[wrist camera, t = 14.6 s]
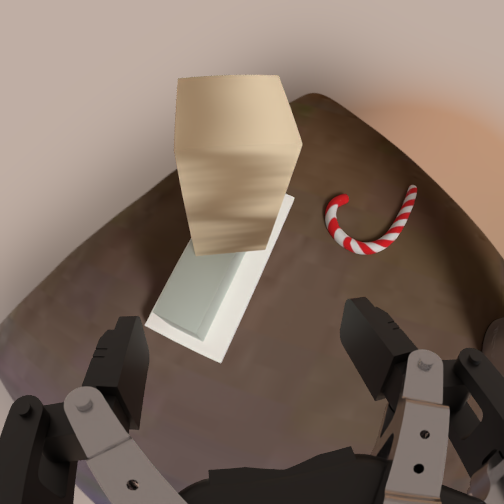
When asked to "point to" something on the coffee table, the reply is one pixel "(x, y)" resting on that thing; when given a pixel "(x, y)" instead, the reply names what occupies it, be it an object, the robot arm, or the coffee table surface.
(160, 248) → the coffee table surface
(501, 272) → the coffee table surface
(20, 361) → the coffee table surface
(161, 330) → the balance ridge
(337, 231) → the candy cane
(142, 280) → the coffee table surface
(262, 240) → the pine block
